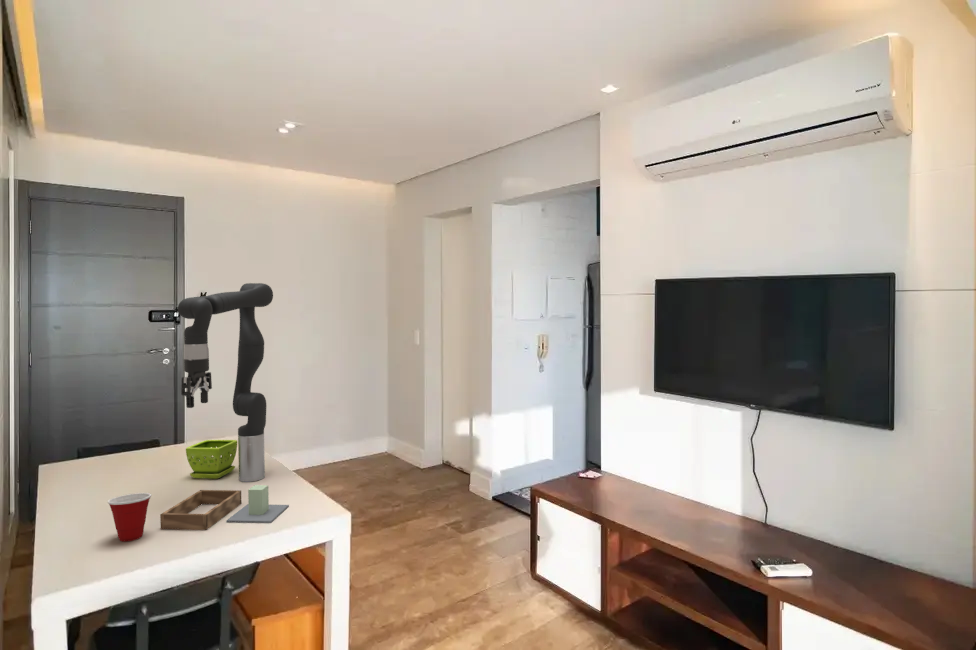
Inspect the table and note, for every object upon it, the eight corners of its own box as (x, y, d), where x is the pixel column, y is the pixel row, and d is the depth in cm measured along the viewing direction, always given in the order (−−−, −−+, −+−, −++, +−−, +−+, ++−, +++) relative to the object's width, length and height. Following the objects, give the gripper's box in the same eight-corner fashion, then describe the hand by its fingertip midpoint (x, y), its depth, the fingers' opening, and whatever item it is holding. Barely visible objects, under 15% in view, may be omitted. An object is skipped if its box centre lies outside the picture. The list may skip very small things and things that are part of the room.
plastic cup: (152, 527, 171) (151, 487, 171) (152, 540, 162) (151, 498, 161) (109, 534, 166) (108, 494, 165) (106, 548, 156) (105, 505, 156)
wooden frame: (200, 503, 192) (200, 489, 191) (241, 503, 191) (241, 490, 191) (160, 529, 170) (160, 514, 169) (206, 530, 169) (206, 515, 169)
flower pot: (239, 470, 228) (238, 439, 228) (219, 481, 214) (219, 448, 214) (206, 469, 230) (205, 438, 229) (184, 480, 216) (184, 447, 215)
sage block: (255, 509, 184) (254, 485, 184) (268, 509, 184) (268, 485, 184) (248, 514, 180) (248, 489, 179) (262, 514, 179) (262, 489, 179)
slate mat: (247, 505, 189) (247, 504, 189) (288, 506, 188) (288, 504, 188) (226, 522, 175) (226, 520, 175) (270, 523, 174) (270, 521, 174)
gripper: (197, 355, 198) (198, 401, 199) (172, 359, 184) (174, 409, 184) (218, 355, 198) (219, 401, 198) (195, 359, 183) (196, 409, 184)
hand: (197, 405), depth 191 cm, fingers open, 8 cm apart
